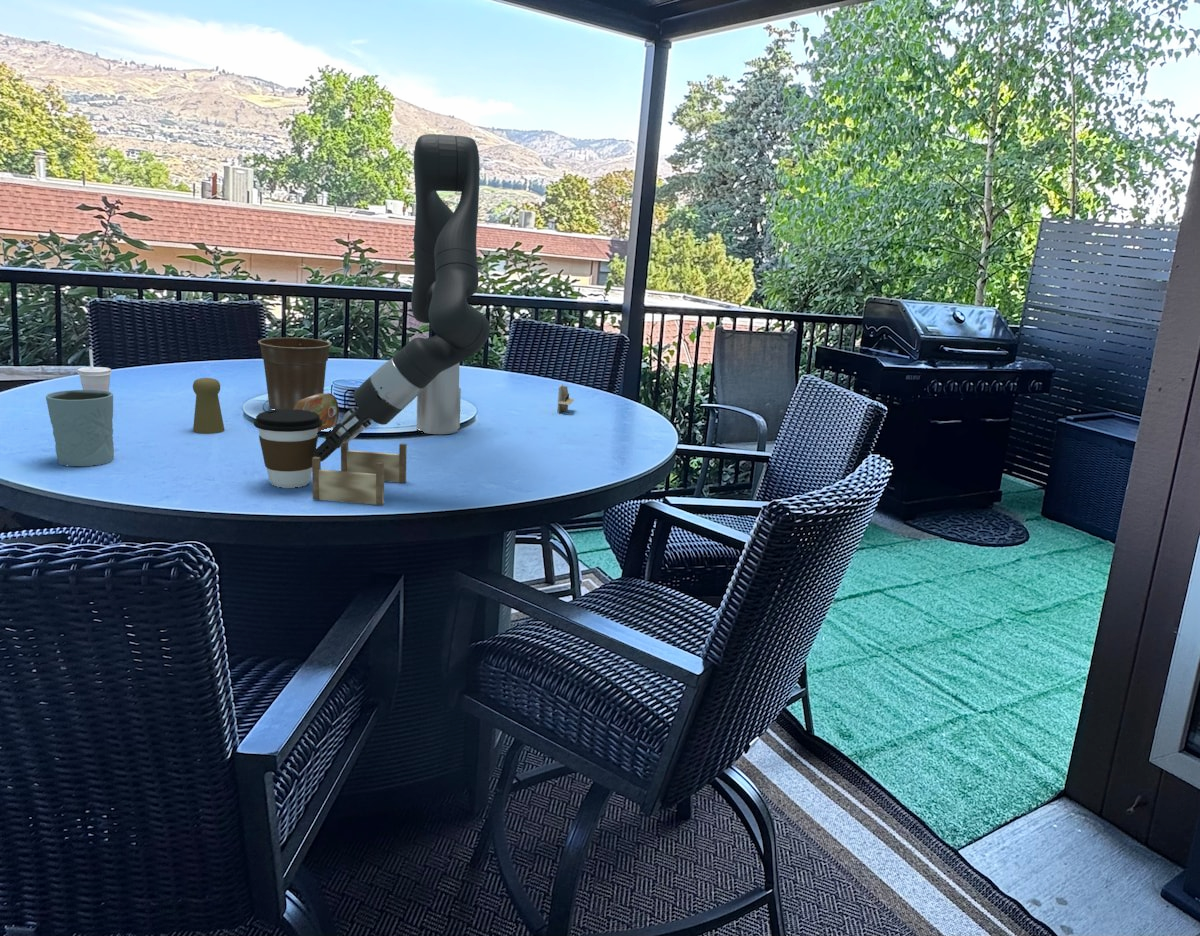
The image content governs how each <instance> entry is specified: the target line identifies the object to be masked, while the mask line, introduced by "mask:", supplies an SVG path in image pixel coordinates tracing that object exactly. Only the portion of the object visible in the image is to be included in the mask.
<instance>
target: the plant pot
mask: <svg viewBox="0 0 1200 936" xmlns="http://www.w3.org/2000/svg"><path fill="white" fill-rule="evenodd" d="M257 343H258V345H260V346H259V347H260V352H261V359H262V360H263V365H264V366H263V367H264V374H265V382H266V383H265V384H266V389H267V390H266V391H267V399H268V408H269V407H270V408H271V409H275V410H285V409H291V410H293V409H294V406H295V405H296V403H297V402H298V401H299V400H301V399H304V398H307V397H310V396H313V395H316V394H325V391H324V390H325V379H326V370H327V369H326V368H327V362H328V360H329V353H330V348H331V346H332V343H331V342H329V341H326V340H322V339H317V338H316V339H315V338H308V337H269V338H268V337H267V338H262V339H258V341H257ZM270 408H269V409H270ZM271 409H270V410H271Z"/></svg>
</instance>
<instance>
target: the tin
mask: <svg viewBox="0 0 1200 936" xmlns="http://www.w3.org/2000/svg"><path fill="white" fill-rule="evenodd" d="M339 409H340V407H339V403H338V401H337V398H336V397H335V395H334V394H332V393H324V394H316V395H313V396H310V397H307V398H304V399H301V400H299V401H298V402H297V403H296V405H295V406H294V409H293V410H305V411H311V412H315V413H317V414H318V415H319V416H320V419H321V420H322V425H321V427H319V428H318V432H319V431H321V430H324V429H327V428H331V427H334V426H335V425H336V424H337V423H338V422H339V421H338V420H339V414H340V413H339V412H340V411H339Z"/></svg>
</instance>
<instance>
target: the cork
mask: <svg viewBox="0 0 1200 936" xmlns="http://www.w3.org/2000/svg"><path fill="white" fill-rule="evenodd" d="M192 390H193V392H194V393H195V406H194V416H193V426H192V431H193V432H194V434H195V433H196V434H204V435H205V434H206V435H208V434H209V435H213V434H220V433H223V432H225V424H224V420H223V415H222V409H221V404H220V397H219V393H220V392H221V383H220V382H219V380H217V378H212V377H202V378H196V379H195V380H194V381H193V384H192Z"/></svg>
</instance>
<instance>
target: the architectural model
mask: <svg viewBox="0 0 1200 936" xmlns="http://www.w3.org/2000/svg"><path fill="white" fill-rule="evenodd" d="M574 401H575V398H570V393H569V389H568V385H567V386H566V385H564V383H562V384H560V385H559V386H558V397H557V410H556V411H557V414H559V413H560V412H567V411H569V406H570V405H572V403H573V402H574Z"/></svg>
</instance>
